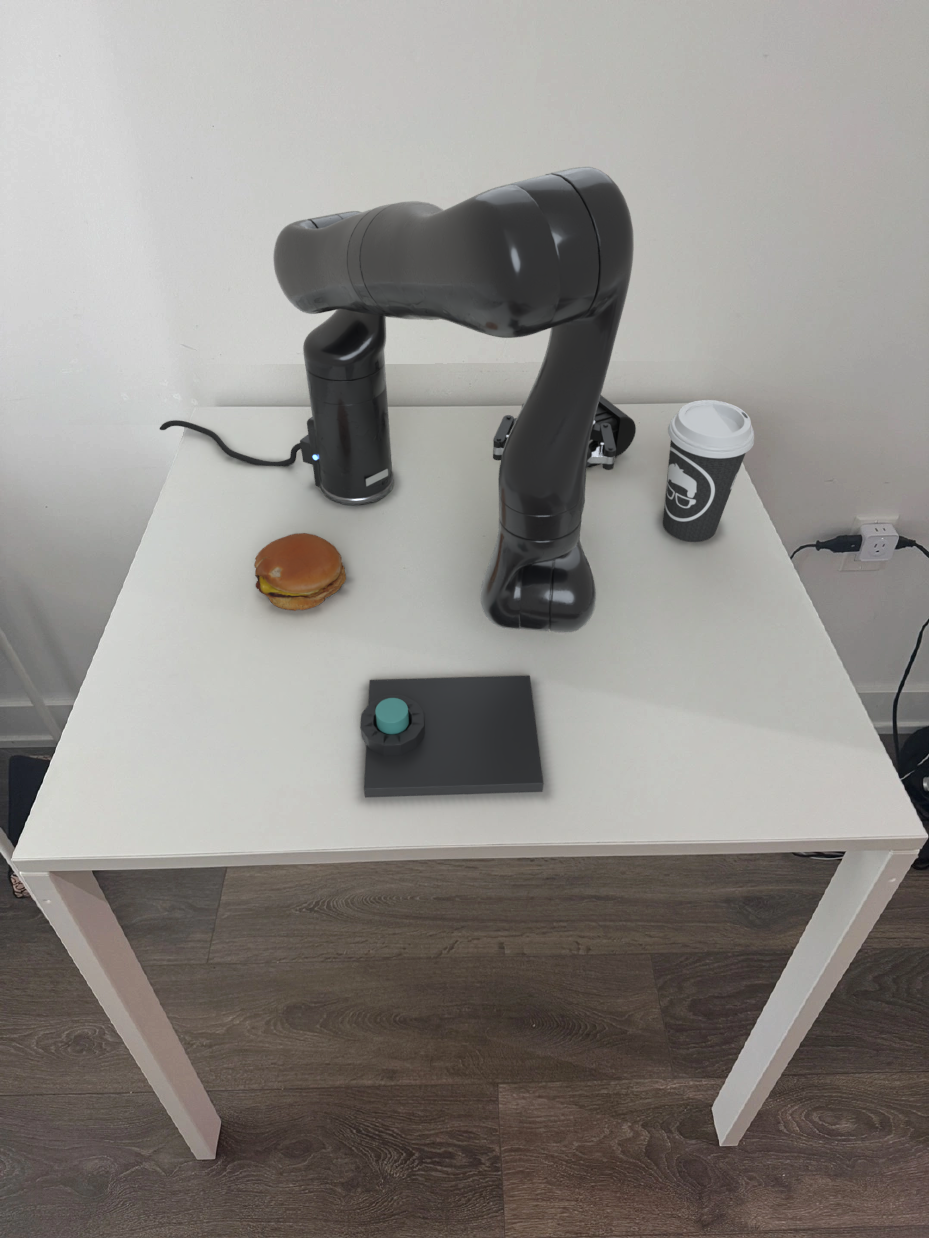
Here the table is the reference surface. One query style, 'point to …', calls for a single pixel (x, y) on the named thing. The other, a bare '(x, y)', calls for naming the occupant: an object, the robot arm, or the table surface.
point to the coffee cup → (703, 466)
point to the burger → (299, 571)
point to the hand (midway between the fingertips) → (558, 408)
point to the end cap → (614, 426)
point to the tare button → (392, 716)
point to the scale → (454, 738)
